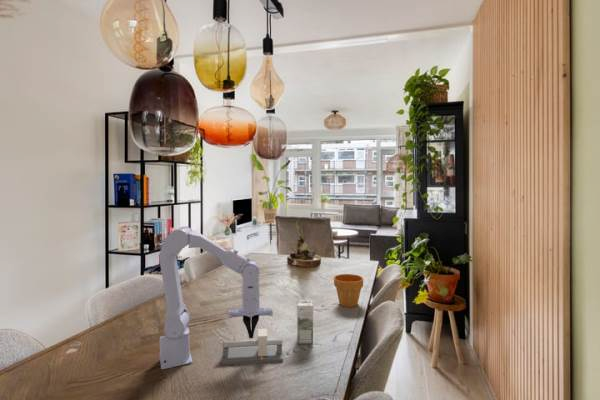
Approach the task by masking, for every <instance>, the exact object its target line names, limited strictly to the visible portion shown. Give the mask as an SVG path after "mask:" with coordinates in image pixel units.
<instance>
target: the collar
mask: <svg viewBox="0 0 600 400" xmlns="http://www.w3.org/2000/svg"><path fill="white" fill-rule="evenodd" d="M257 331H258V332H257V340H258V346H257V347H258V356H267V339H268V328H266V327H265V328H258V329H257Z"/></svg>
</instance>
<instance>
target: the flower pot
mask: <svg viewBox="0 0 600 400" xmlns="http://www.w3.org/2000/svg"><path fill="white" fill-rule="evenodd" d="M333 285H334V287H335V289H336V294H337V298H338V303H339V305H340V306H342V307H346V308H353V307H354V308H355V307H356V306H358V304H359V300H360V299H359V298H360V295H361V294H360V293H361V291H362V288H363V287H364V278H363V277H362V276H361V275H359V274H358V275H357V274H353V273H351V274H349V273H344V274H338V275H334V277H333Z"/></svg>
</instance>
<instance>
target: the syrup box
mask: <svg viewBox="0 0 600 400" xmlns="http://www.w3.org/2000/svg"><path fill="white" fill-rule="evenodd" d="M296 309H297V311H296V318H297V319H296V320H297V321H296V322H297V324H296V326H297V327H296V329H297V330H296V331H297V332H296V334H297V335H296V336H297V344H298V345H308V344H311V345H312V344H314V305H313V301H312V300H296Z"/></svg>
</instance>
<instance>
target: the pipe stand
mask: <svg viewBox="0 0 600 400" xmlns="http://www.w3.org/2000/svg"><path fill="white" fill-rule="evenodd" d="M221 347H222V358H221V361H220V365H221V366H229V365H230V366H231V365H246V364H262V363H280V362H282V363H283V362H284V358H283V357H284V356H283V338H267V356H258V339H248V340H245V339H244V340H229V341H228V340H227V341H222V343H221Z"/></svg>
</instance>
